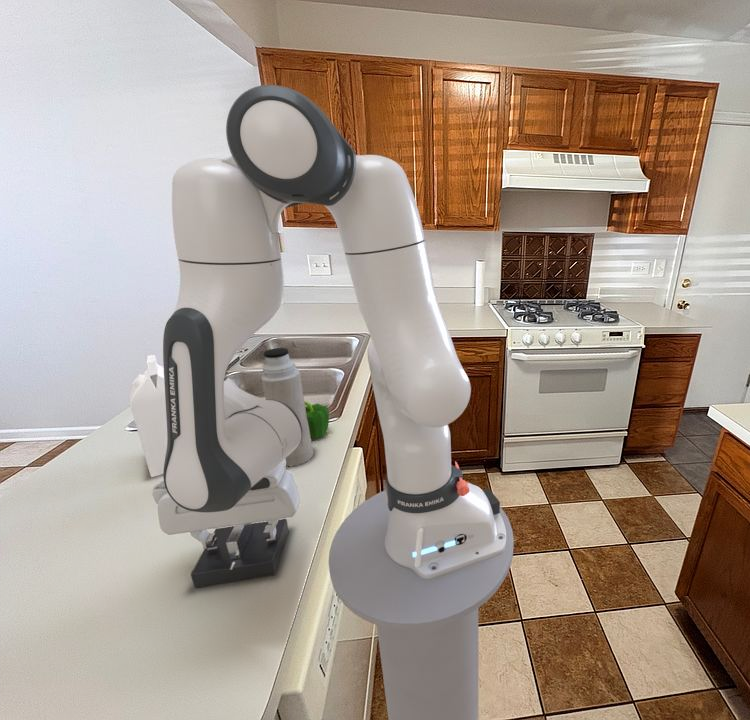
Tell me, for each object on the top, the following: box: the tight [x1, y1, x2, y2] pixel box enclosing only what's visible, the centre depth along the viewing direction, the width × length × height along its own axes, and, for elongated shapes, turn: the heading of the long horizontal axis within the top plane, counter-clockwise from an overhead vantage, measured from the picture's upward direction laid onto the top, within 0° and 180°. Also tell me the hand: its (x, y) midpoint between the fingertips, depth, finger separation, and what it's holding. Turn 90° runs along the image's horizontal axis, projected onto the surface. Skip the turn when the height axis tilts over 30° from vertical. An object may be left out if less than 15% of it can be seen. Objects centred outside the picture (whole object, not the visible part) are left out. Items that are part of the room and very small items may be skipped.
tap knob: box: [226, 523, 253, 559], centre depth 68 cm, size 6×2×4 cm, turn 13°
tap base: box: [190, 518, 290, 589], centre depth 69 cm, size 12×11×3 cm
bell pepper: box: [305, 401, 330, 441], centre depth 106 cm, size 8×8×10 cm
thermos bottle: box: [260, 347, 314, 467], centre depth 93 cm, size 8×8×28 cm
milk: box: [129, 354, 167, 478], centre depth 94 cm, size 12×12×26 cm
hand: (241, 540), depth 68 cm, fingers open, 8 cm apart
